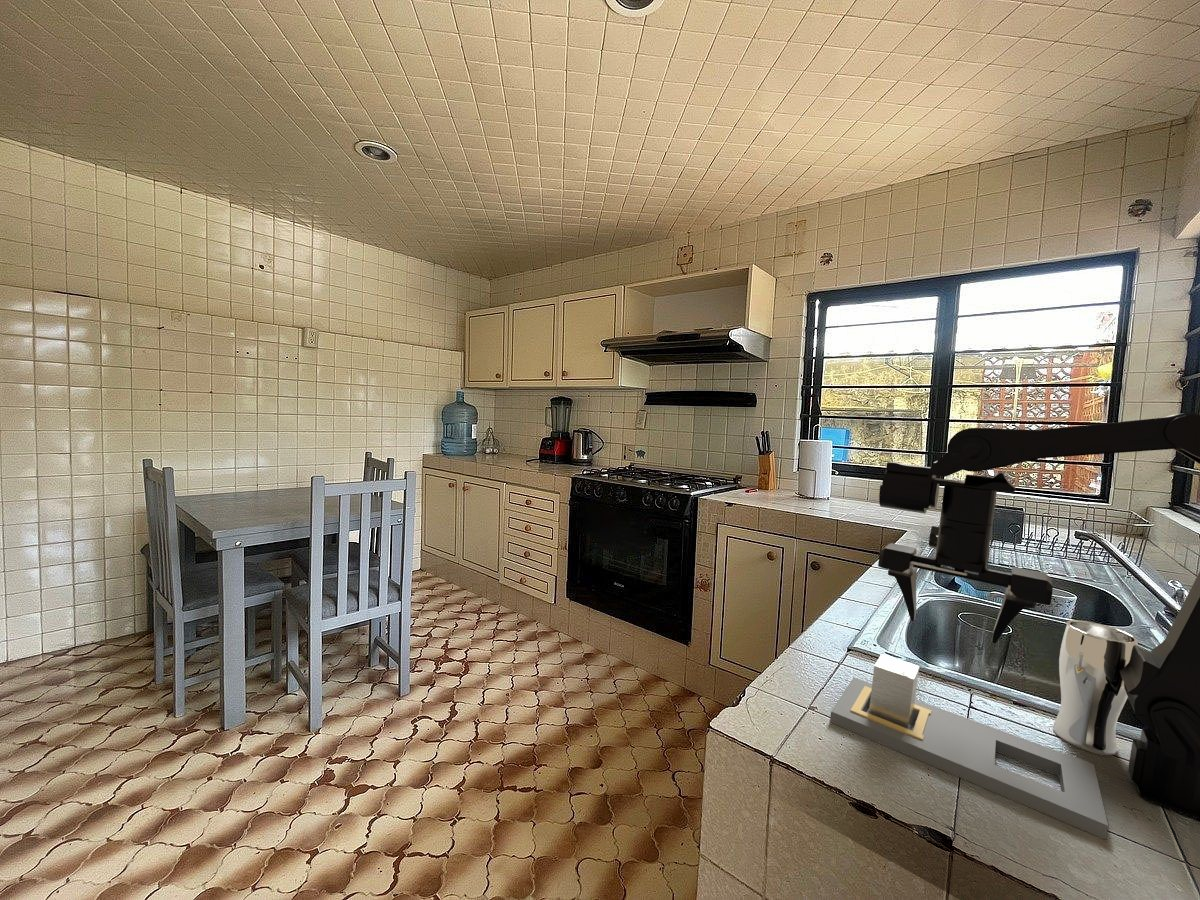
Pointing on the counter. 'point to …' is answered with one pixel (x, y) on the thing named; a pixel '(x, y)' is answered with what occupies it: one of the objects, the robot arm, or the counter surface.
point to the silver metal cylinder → (1092, 685)
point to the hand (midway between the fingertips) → (951, 631)
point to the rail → (982, 757)
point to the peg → (894, 690)
